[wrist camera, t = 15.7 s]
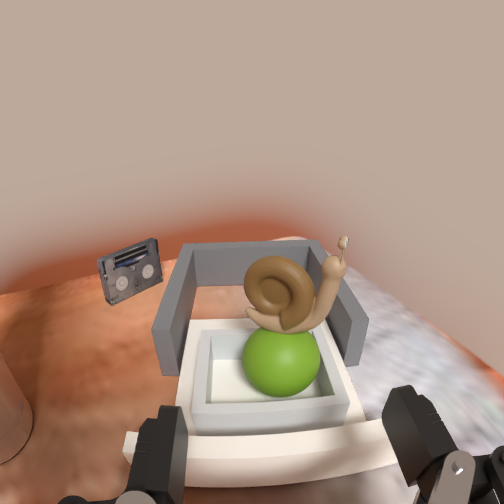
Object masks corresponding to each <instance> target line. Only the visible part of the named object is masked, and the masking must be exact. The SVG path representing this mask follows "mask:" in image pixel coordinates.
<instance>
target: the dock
mask: <svg viewBox="0 0 504 504" xmlns="http://www.w3.org/2000/svg"><path fill="white" fill-rule="evenodd" d="M266 256H282V257H286V258H289V259H291V260H293V261H295V262H296V263H298V264H299V265H300V266H302V267H303V268H304V269H305V270H306V272H307V273H308V274H309V276H310V278H311V280H312V282H313V285H314V289H315V295H316V294H317V292H318V289H319V286H320V284H321V281H322V270H321V265H322V262H323V261H324V260H325V258H327V257H329V256H328V255H327V253H326V252H325V250H324V249H323V247H322V246H321V244H320V243H319V242H318V240H285V241H254V242H222V243H194V244H183V246H182V249H181V251H180V254H179V256H178V259H177V262H176V264H175V267H174V269H173V272H172V274H171V277H170V280H169V282H168V285H167V288H166V290H165V293H164V296H163V298H162V301H161V304H160V307H159V309H158V312H157V315H156V318H155V320H154V323H153V326H152V329H151V330H152V335H153V339H154V343H155V347H156V351H157V356H158V359H159V363H160V367H161V371H162V375H163V376H180V371H181V366H182V360H183V355H184V349H185V344H186V338H187V333H188V328H189V323H190V318H191V313H192V308H193V303H194V298H195V293H196V288H197V286H221V285H244V278H245V274H246V272H247V270H248V268H249V267H250V266H251V264H252V263H254V262H255V261H256V260H258V259H260V258H263V257H266ZM325 320H326V322H327V325H328V327H329V329H330V331H331V334H332V336H333V339H334V341H335V343H336V346H337V348H338V350H339V353H340V355H341V358H342V360H343V362H344V365H345V367H348V366H356V365H359V361H360V357H361V353H362V349H363V345H364V341H365V336H366V332H367V327H368V323H369V318H368V317H367V315H366V313H365V312H364V310H363V309H362V307H361V305H360V304H359V302H358V301H357V299H356V298H355V296H354V294H353V293H352V291H351V290H350V288H349V287H348V285H347V284H346V282H345V280H344V279H343V278H342V280H341V282H340V285H339V289H338V293H337V295H336V298H335V300H334V303H333V305H332V307H331V310H330V311H329V313H328V315H327V316H326V318H325Z"/></svg>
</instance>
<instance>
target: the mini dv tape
mask: <svg viewBox="0 0 504 504" xmlns="http://www.w3.org/2000/svg"><path fill="white" fill-rule="evenodd" d="M97 264H98V269H99V274H100V278H101V283H102V287H103V291H104V295H105V299H106V302H108V303H109V304H110V305H112V306H113V305H115V304H117V303H119V302H121V301H123V300H125V299H127V298H130V297H132V296H134V295H136V294H138V293H140V292H142V291H144V290H146V289H148V288H150V287H152V286H154V285H156V284H158V283H160V282H162V281H163V278H162V271H161V264H160V257H159V250H158V242H157V239H154V238H150V239H147V240H145V241H142V242H139V243H137V244H134V245H131V246H129V247H126V248H124V249H121V250H119V251H116V252H114V253H111V254H108V255H106V256H103V257H101V258H98V259H97Z"/></svg>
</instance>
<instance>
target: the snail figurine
mask: <svg viewBox="0 0 504 504" xmlns="http://www.w3.org/2000/svg"><path fill="white" fill-rule="evenodd" d="M348 242H349V239H348V237H347V236H346V235H343V236H341V237H340V240H339V242H338V247H339V248H340V249H342V257H339V256H337V255H331V256H329V257H327V258H325V260H324V261H323V262H322V265H321V270H322V281H321V284H320V286H319V289H318V292H317V294H316V295H315V289H314V285H313V282H312V280H311V278H310V276H309V274H308V273H307V272H306V270H305V269H304V268H303V267H302V266H300V265H299V264H298V263H296V262H295V261H293V260H291V259H289V258H286V257H282V256H266V257H263V258H260V259H258V260H256V261H255V262H254V263H252V264H251V266H250V267H249V268H248V270H247V272H246V274H245V278H244V290H245V294H246V296H247V298H248V300H249V301H250V303H251V304H252V305H253V306H254V307H255V308H256V309H254V308H250V307H248V308H246V309H245V312H246V314H247V315H248V316H249V318H250V319H251V320H252V321H253V322H254V323H255V324H256V325H258V326H259V327H260V328H258V329H257V330H256V331H255V332H254V333H253V334H252V335H251V336H250V337H249V338H248V340H247V342H246V344H245V346H244V349H243V353H242V367H243V371H244V374H245V376H246V378H247V380H248V381H249V382H250V384H251V385H252V386H253V387H254V388H255V389H257V390H258V391H259V392H261V393H263V394H265V395H268V396H271V397H279V398H282V397H290V396H293V395H296V394H298V393H300V392H302V391H303V390H305V389H306V388H307V387H308V386H309V385H310V384H311V383H312V382H313V380H314V379H315V377H316V375H317V373H318V370H319V367H320V351H319V347H318V344H317V342H316V340H315V339H314V337H313V336H312V335H311V333H310V332H309V330H312V329H314V328H316V327H317V326H318V325H320V324H321V323H322V322H323V320H324V319H325V318H326V316H327V315H328V313H329V311H330V310H331V307H332V305H333V303H334V300H335V298H336V295H337V293H338V289H339V285H340V282H341V280H342V278H343V277H344V275H345V269H346V268H347V265H346V262H345V261H344V259H343V257H344V253H345V249H346V248H347V244H348Z"/></svg>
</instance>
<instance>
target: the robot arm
mask: <svg viewBox="0 0 504 504" xmlns="http://www.w3.org/2000/svg"><path fill="white" fill-rule="evenodd" d="M32 423H33V415H32V410H31V407H30V404H29V402H28V401H27V399H26V398H25V396H24V394H23V393H22V391H21V389H20V388H19V386H18V384H17V382H16V381H15V379H14V377H13V375H12V373H11V371H10V369H9V367H8V366H7V364H6V362H5V360H4V358H3V356H2V354H1V352H0V464H2V463H4V462H6V461H8V460H10V459H11V458H12V457H13V456H15V455H16V454H17V453H18V452H19V451H20V450H21V448H22V447H23V446H24V445H25V443H26V441H27V439H28V438H29V435H30V432H31V429H32ZM382 423H383V426H384V429H385V431H386V434H387V436H388V438H389V441H390V443H391V446H392V448H393V450H394V453H395V455H396V458H397V460H398V463H399V465H400V468H401V470H402V473H403V475H404V478H405V480H406V483H407V485H408V487H410V486H413V485H416V484H418V486H419V489H418V491H417V493H416V496H415V499H414V502H413V504H499V502H500V504H504V446H500V447H498V448H496V449H495V450H494V451H493V453H492V454H489V455H482V456H471V455H470V454H469V453H468V452H466V451H461V450H459V449H458V448H457V447H456V445H455V443H454V441H453V439H452V437H451V436H450V434H449V432H448V430H447V428H446V427H445V425H444V423H443V421H441V418H440V416H439V414H437V411H436V409H435V407H434V406H433V404H432V402H431V401H430V400H428V399H427V398H426V397H425V396H423V395H417V393H416V391H415V390H414V388H413V387H412V386H411V385H406V386H402V387H397V388H393V389H392V390H391V392H390V394H389V397H388V399H387V402H386V404H385V406H384V409H383V411H382ZM187 451H188V429H187V425H186V422H185V418H184V415H183V411H182V408H181V406H164V405H161V406H160V408H159V412H158V417H157V419H151V418H147V419H146V421H145V422H144V423H143V425H142V426H141V427H140V429H139V433H138V437H137V443H136V446H135V452H134V455H133V460H132V465H131V470H130V474H129V479H128V484H127V487H126V489H125V491H124V492H123V493H122V494H121V495H120V496H119V497H117V498H115V499H112V500H105V501H93V502H87V501H86V500H85V499H83V498H82V497H79V496H67V497H65V498H63V499H62V500H61V501H60V502H59V503H58V504H183V499H184V486H185V474H186V462H187ZM493 489H494V490H495V492H496V495H497V497H498V500H499V502H498V500H497V498H496V495H495V493H494V490H493Z"/></svg>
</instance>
